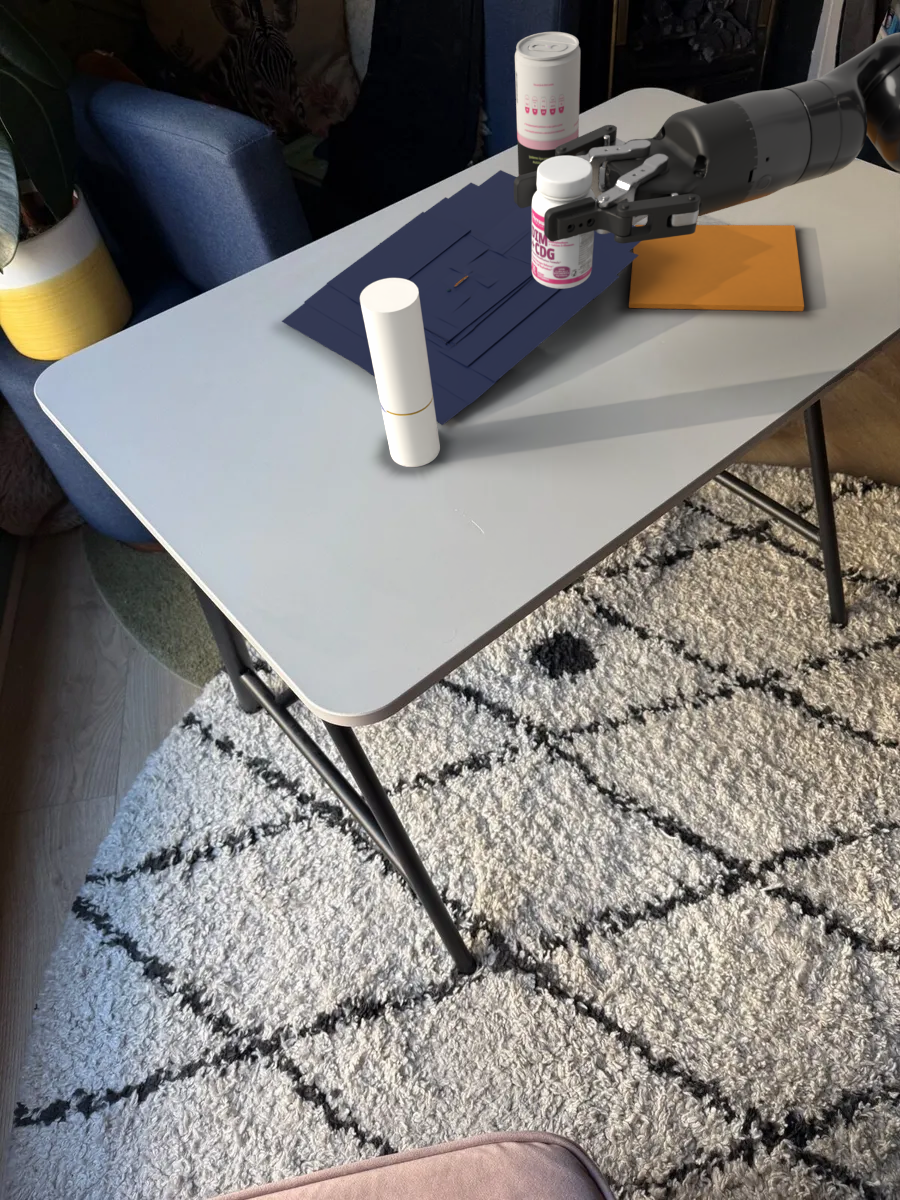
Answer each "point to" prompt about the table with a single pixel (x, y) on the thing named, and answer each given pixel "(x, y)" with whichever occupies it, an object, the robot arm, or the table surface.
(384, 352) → the tube
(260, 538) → the table surface
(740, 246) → the amber mat
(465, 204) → the papers
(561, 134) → the beverage can
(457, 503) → the table surface
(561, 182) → the pill bottle
